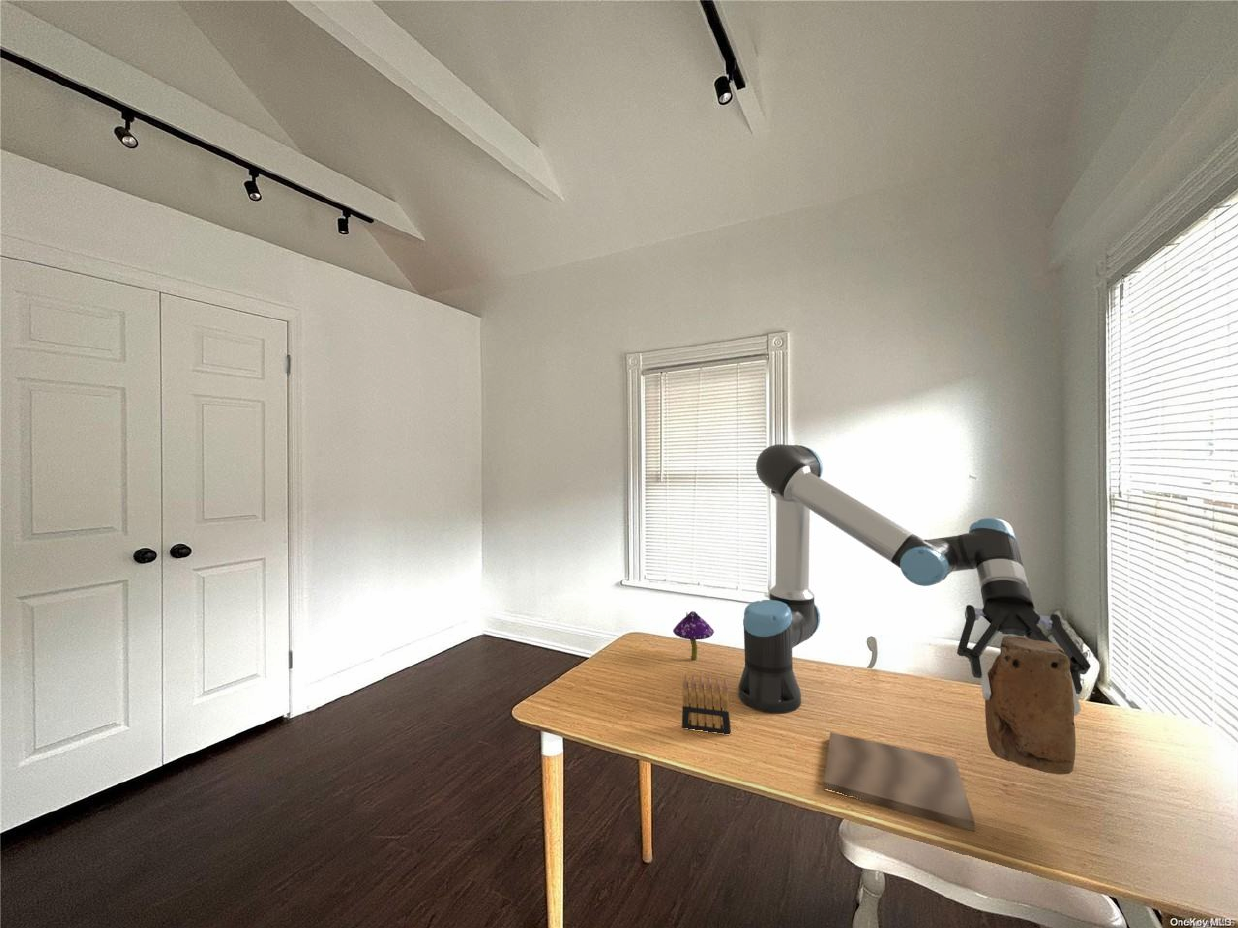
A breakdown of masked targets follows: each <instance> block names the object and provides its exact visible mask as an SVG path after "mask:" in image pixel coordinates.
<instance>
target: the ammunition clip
mask: <svg viewBox="0 0 1238 928" xmlns="http://www.w3.org/2000/svg"><path fill="white" fill-rule="evenodd" d="M704 686H705V685H704V679H703V676H702V675H700V676H699V679H698V689H697V683H696V677H695V675H694V674H692V675H691V678H690V689H689V679H688V675H687V674H686V673H685V674H684V676H683V680H682V693H681V695H682V700H681V701H682V711H681V712H682V713H681V715H682V716H681V728H688V729H695V730H703V731H708V732H717V733H724V734H730V733H732V732H731V731H732V728H731V727H732V726H731V715H730V696H729V688H728V686H729V685H728V681H727V679H726V677H724V679H723V682H722V692H721V687H720V681H719V678H718V677H716V678H715V680H714V687H712V681H711V677H710V676H707V679H706V687H704ZM705 688H706V689H705ZM712 688H713V689H714V691H713V689H712ZM697 690H698V692H697ZM713 693H714V694H713ZM721 693H722V694H721Z"/></svg>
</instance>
